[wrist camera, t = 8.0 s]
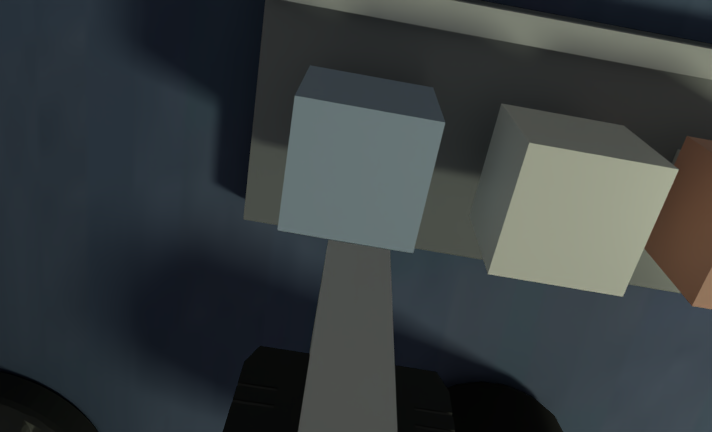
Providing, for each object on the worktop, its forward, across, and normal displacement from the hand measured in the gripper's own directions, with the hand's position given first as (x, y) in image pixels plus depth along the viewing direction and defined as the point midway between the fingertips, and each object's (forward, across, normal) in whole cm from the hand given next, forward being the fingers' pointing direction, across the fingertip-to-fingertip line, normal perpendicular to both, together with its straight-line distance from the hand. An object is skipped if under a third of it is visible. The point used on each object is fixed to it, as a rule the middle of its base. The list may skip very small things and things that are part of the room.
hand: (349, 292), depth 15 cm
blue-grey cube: (+12, 0, 0) cm, 12 cm away
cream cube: (+12, +8, 0) cm, 14 cm away
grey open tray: (+16, +8, 0) cm, 18 cm away
